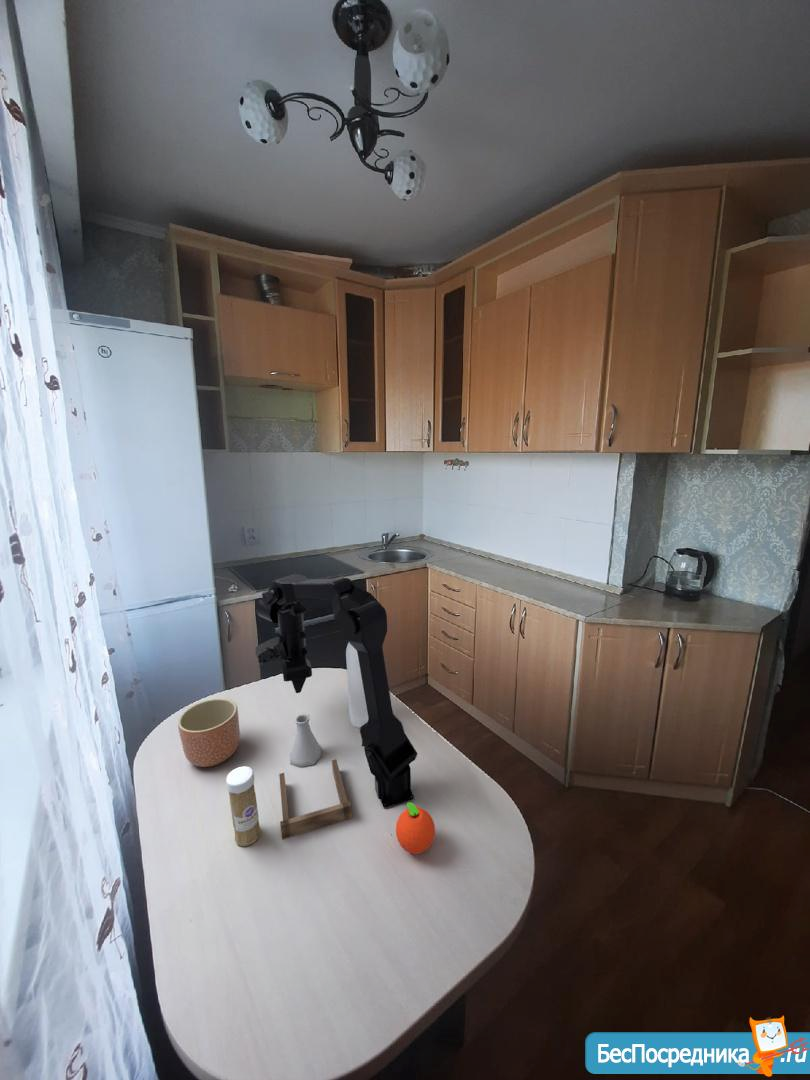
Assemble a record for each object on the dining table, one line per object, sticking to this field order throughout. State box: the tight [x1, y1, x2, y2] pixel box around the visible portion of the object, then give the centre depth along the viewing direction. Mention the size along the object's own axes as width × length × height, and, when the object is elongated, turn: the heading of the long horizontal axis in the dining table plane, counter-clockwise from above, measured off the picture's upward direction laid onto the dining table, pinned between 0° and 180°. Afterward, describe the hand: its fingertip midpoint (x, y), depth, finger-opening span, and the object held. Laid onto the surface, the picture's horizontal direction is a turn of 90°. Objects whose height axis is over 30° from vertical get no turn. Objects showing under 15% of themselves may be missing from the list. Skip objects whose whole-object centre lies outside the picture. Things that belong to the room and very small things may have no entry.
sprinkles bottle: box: [225, 765, 262, 847], centre depth 78 cm, size 5×5×14 cm
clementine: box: [395, 801, 436, 855], centre depth 77 cm, size 8×7×7 cm
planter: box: [177, 697, 241, 768], centre depth 99 cm, size 12×12×11 cm
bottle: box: [345, 642, 368, 729], centre depth 108 cm, size 8×8×30 cm
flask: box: [289, 713, 322, 768], centre depth 98 cm, size 7×7×10 cm
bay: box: [278, 758, 353, 840], centre depth 86 cm, size 13×13×3 cm
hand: (297, 686), depth 105 cm, fingers open, 5 cm apart
